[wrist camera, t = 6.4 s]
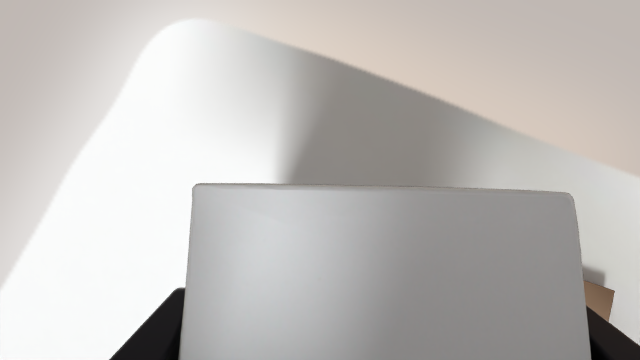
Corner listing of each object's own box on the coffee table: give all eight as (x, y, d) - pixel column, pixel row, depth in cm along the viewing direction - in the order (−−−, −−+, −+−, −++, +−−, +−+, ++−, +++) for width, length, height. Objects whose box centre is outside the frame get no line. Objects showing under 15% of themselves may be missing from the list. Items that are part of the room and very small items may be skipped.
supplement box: (413, 233, 20) (594, 186, 8) (415, 405, 19) (639, 670, 7) (254, 228, 20) (186, 170, 8) (244, 402, 19) (140, 676, 6)
